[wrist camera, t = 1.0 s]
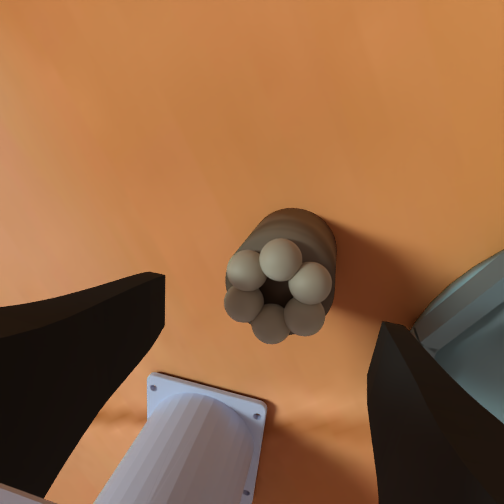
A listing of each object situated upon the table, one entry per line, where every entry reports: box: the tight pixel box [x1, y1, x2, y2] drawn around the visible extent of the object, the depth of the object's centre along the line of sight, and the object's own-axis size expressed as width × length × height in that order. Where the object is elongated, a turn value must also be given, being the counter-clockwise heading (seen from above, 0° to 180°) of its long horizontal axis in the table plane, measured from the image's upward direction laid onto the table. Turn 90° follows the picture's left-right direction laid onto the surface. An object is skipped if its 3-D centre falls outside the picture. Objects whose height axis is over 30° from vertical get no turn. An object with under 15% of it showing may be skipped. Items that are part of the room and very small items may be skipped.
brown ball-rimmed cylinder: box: [224, 208, 337, 344], centre depth 16 cm, size 4×4×6 cm
